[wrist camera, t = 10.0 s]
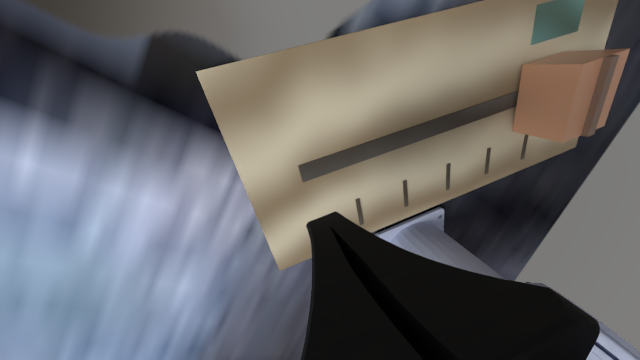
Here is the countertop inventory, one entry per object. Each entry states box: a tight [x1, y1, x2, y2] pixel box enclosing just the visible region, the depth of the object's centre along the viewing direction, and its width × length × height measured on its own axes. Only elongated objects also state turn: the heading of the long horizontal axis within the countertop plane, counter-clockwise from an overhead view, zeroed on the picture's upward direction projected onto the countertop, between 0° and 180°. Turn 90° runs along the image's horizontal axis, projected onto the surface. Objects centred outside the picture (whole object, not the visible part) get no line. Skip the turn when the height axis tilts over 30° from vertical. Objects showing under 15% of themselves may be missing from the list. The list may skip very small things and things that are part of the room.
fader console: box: [196, 0, 618, 271], centre depth 19 cm, size 14×30×3 cm, turn 103°
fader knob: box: [513, 49, 630, 143], centre depth 18 cm, size 5×4×4 cm
